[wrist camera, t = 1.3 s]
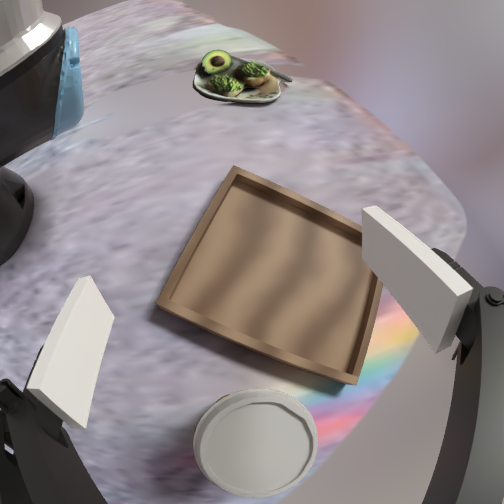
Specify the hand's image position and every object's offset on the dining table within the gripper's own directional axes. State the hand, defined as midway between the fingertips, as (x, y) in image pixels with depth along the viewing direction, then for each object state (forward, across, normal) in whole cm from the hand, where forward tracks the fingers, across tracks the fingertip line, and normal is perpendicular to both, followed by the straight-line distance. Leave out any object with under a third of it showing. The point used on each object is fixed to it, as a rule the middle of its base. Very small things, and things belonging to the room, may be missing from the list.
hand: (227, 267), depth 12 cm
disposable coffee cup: (+4, -4, -22) cm, 23 cm away
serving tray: (+17, +5, -14) cm, 23 cm away
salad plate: (+48, +6, +11) cm, 49 cm away
